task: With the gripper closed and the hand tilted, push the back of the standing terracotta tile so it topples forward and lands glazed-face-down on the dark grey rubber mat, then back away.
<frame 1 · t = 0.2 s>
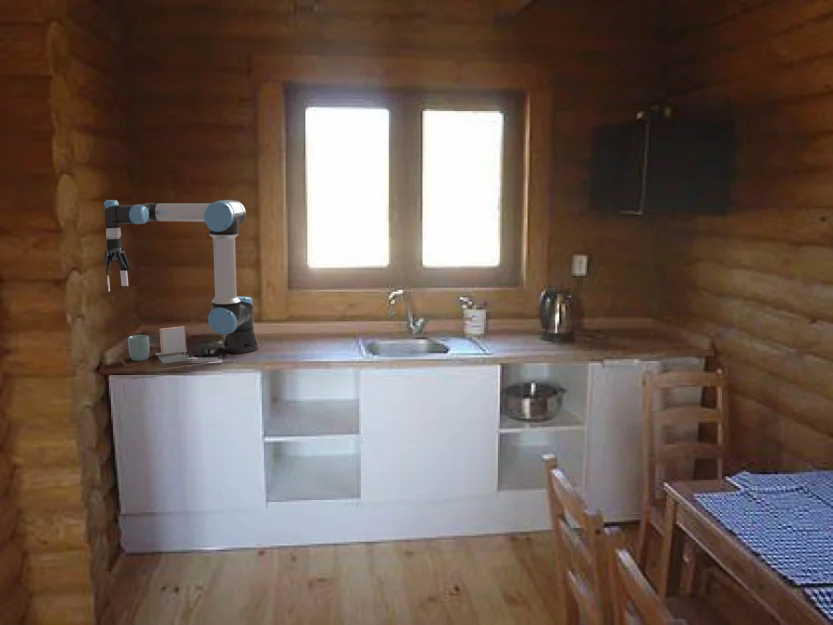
hand: (115, 288, 312), 28 cm above the counter, tool pointing down, fingers open, 13 cm apart
mat: (176, 358, 309), on the counter
tile: (174, 353, 313), point 1 cm above the counter, touching mat
cup: (140, 361, 305), on the counter
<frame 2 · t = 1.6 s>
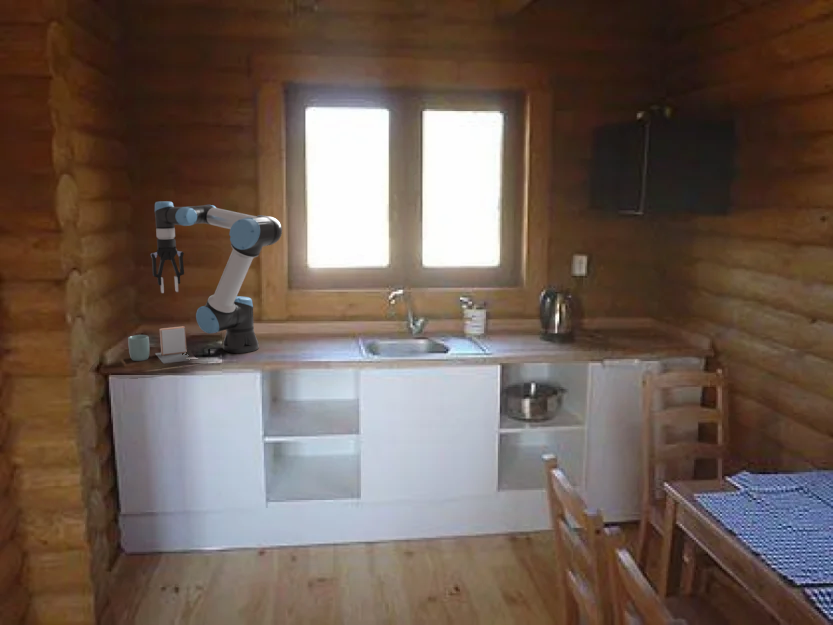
hand: (169, 291, 321), 25 cm above the counter, tool pointing down, fingers open, 5 cm apart
nothing on the counter moved.
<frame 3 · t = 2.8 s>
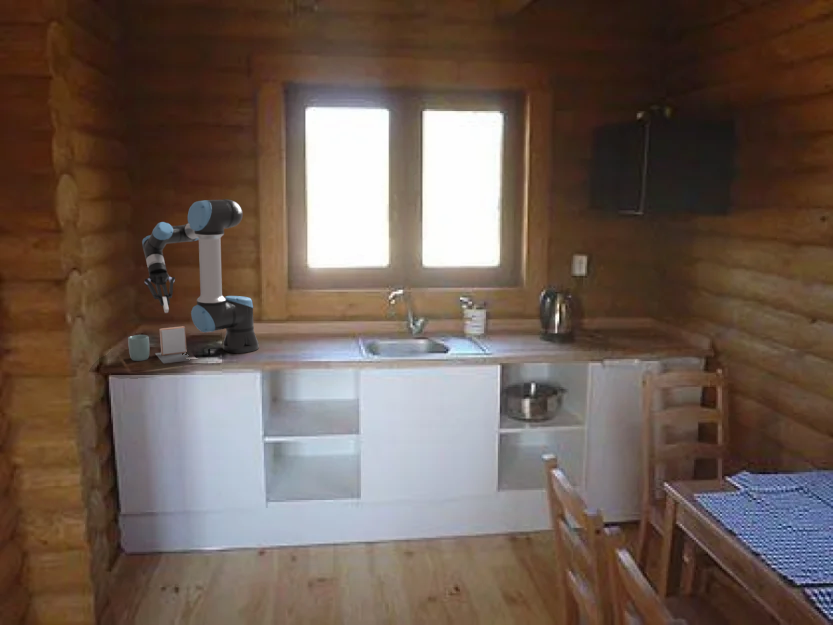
hand: (166, 310, 318), 17 cm above the counter, tool tilted 45°, fingers closed
nothing on the counter moved.
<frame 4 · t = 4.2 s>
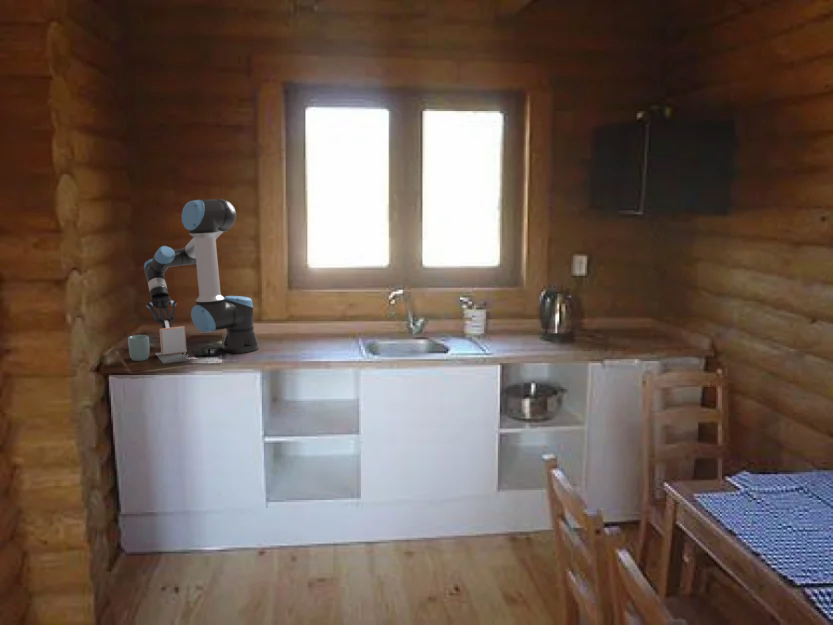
hand: (168, 334, 319), 7 cm above the counter, tool tilted 45°, fingers closed
nothing on the counter moved.
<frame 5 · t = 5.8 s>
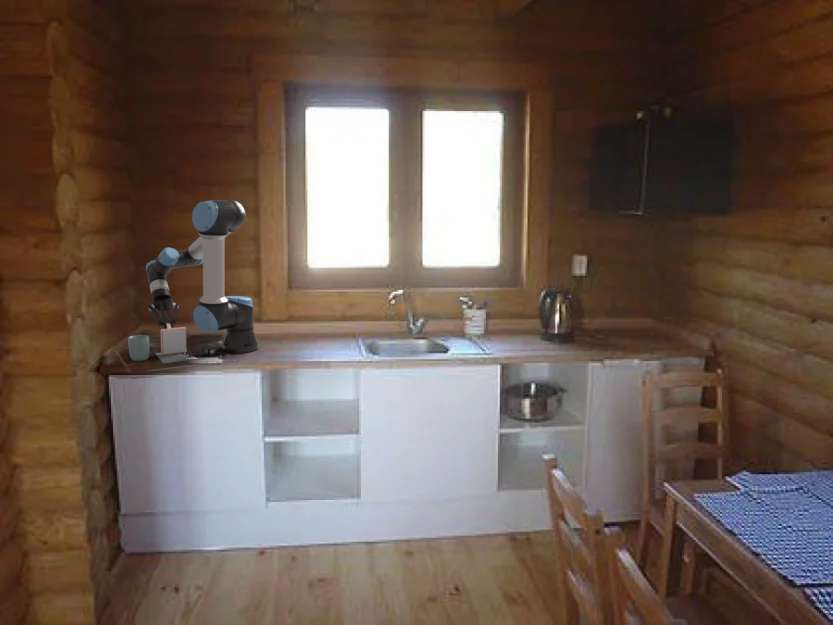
hand: (170, 337, 312), 7 cm above the counter, tool tilted 45°, fingers closed
tile: (174, 353, 313), point 1 cm above the counter, tilted 11°, touching mat
everything else where it was.
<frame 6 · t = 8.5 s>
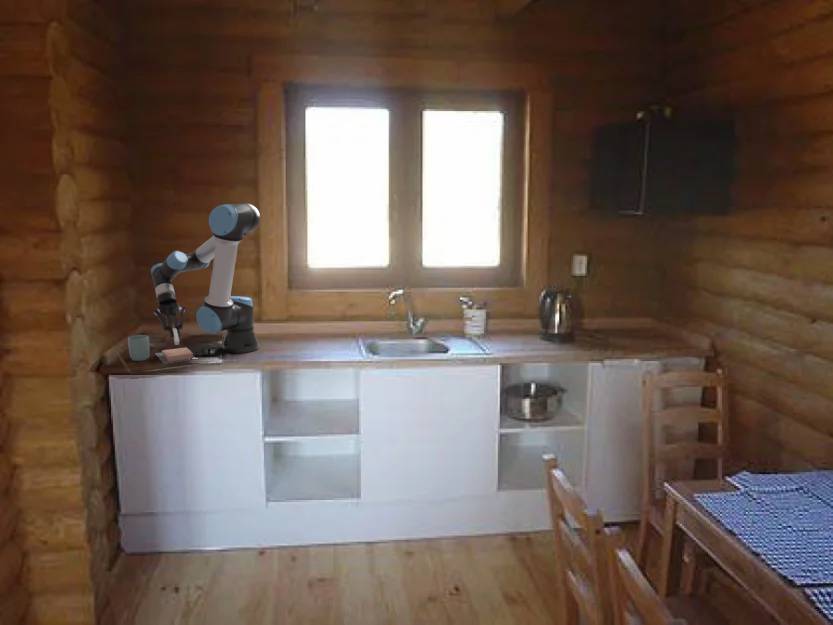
hand: (177, 343, 305), 7 cm above the counter, tool tilted 45°, fingers closed
tile: (174, 351, 312), point 2 cm above the counter, tilted 90°, touching mat
everything else where it was.
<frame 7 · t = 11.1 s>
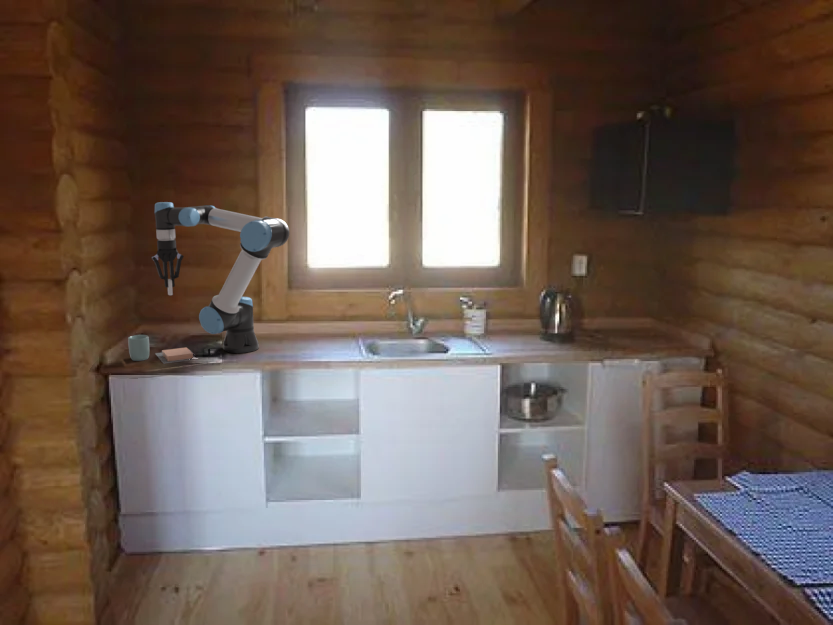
hand: (170, 294, 317), 24 cm above the counter, tool pointing down, fingers closed
nothing on the counter moved.
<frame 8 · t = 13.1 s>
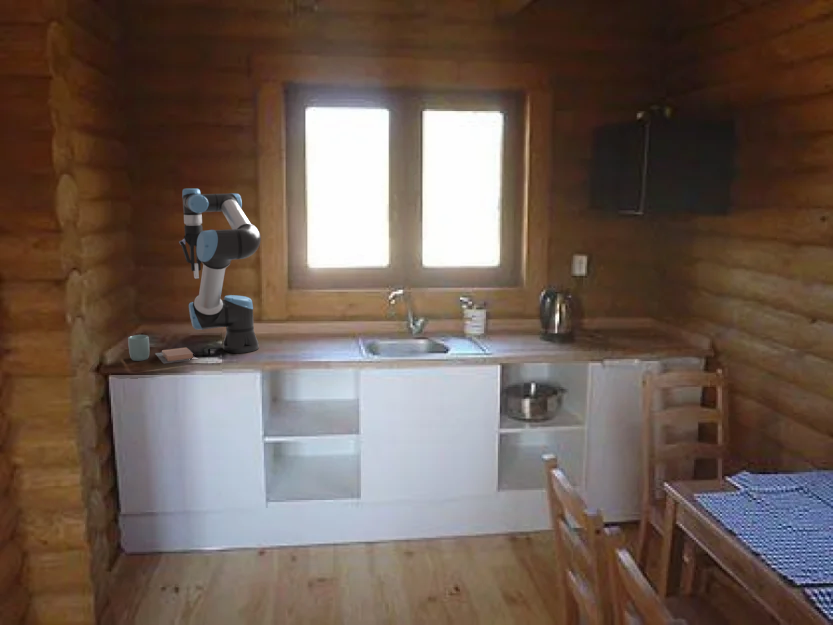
hand: (196, 278, 328), 29 cm above the counter, tool pointing down, fingers closed
nothing on the counter moved.
at the end: tile tilted 90°; tile 3.7 cm from the mat (horizontally); tile point 2.0 cm above the counter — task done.
